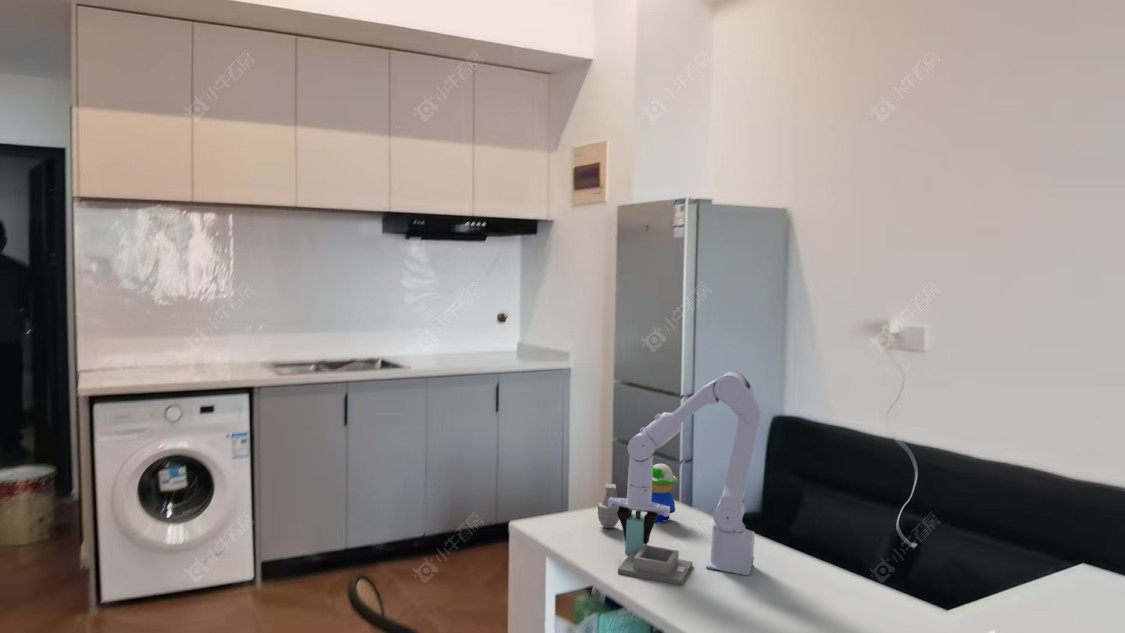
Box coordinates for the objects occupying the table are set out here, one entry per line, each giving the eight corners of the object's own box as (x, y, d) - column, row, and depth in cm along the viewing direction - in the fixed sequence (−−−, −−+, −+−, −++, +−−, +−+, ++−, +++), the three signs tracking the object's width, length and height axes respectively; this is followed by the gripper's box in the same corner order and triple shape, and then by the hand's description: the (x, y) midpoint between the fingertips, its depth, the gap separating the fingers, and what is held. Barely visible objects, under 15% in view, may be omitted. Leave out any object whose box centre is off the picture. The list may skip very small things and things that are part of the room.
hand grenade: (620, 532, 196) (622, 489, 195) (597, 530, 196) (599, 488, 195) (618, 523, 202) (621, 482, 201) (596, 522, 202) (598, 481, 201)
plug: (647, 549, 184) (649, 510, 184) (641, 556, 180) (643, 515, 179) (630, 546, 186) (633, 507, 185) (624, 553, 181) (627, 513, 181)
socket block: (692, 566, 175) (693, 551, 175) (681, 585, 164) (682, 569, 164) (632, 555, 180) (633, 540, 180) (617, 573, 169) (618, 557, 169)
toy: (657, 511, 214) (660, 458, 213) (682, 520, 207) (685, 465, 206) (634, 517, 208) (637, 462, 207) (659, 526, 201) (663, 470, 200)
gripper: (674, 484, 183) (670, 540, 184) (615, 476, 188) (612, 530, 189) (667, 492, 176) (663, 550, 177) (606, 483, 182) (603, 539, 182)
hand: (636, 541), depth 183 cm, fingers closed on plug, 4 cm apart
